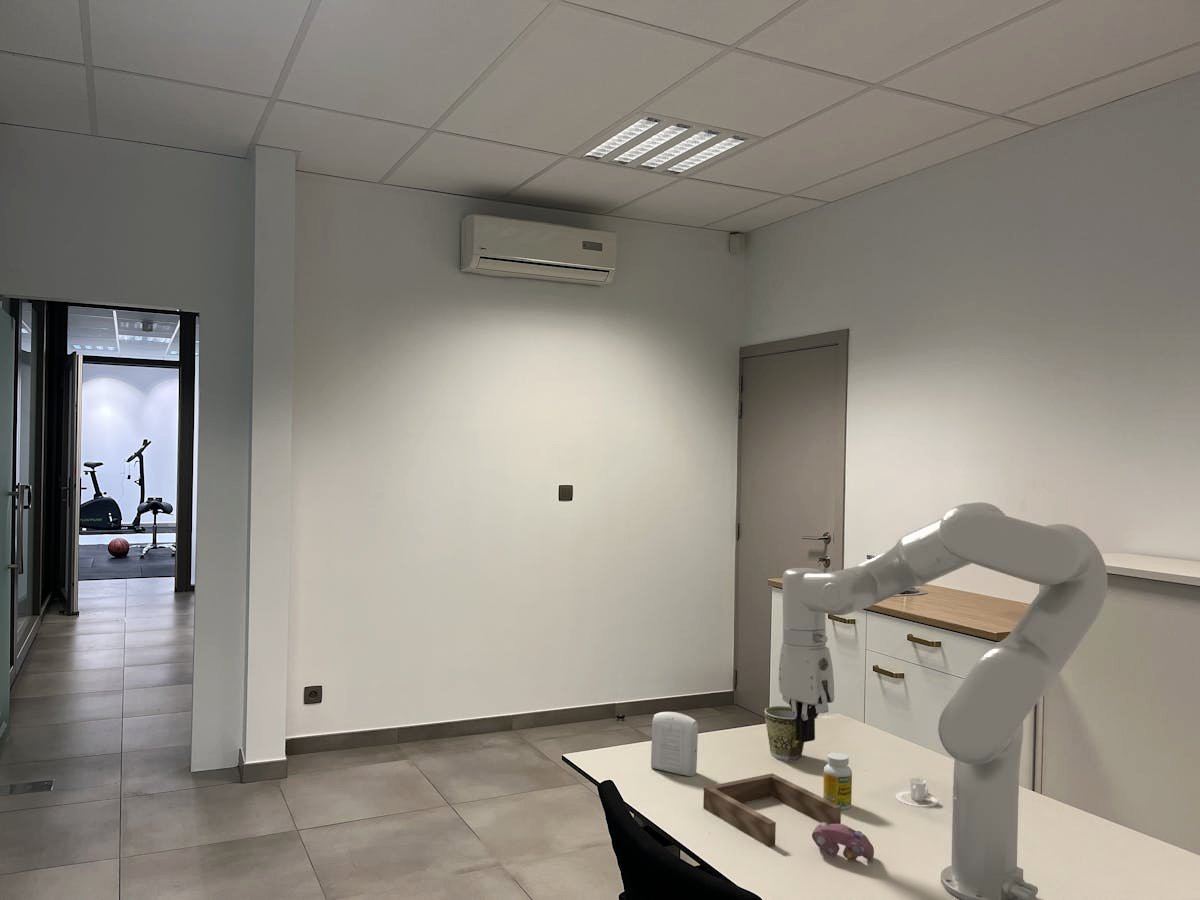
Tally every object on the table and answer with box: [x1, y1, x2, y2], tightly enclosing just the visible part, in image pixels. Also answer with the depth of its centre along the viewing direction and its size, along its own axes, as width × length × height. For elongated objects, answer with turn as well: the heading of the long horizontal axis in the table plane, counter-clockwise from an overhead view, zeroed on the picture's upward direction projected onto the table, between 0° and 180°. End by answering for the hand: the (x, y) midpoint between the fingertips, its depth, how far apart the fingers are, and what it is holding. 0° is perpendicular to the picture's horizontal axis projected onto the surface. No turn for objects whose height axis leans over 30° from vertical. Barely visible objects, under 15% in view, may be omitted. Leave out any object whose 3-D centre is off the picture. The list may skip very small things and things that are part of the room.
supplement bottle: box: [822, 752, 853, 811], centre depth 175 cm, size 5×5×10 cm
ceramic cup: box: [764, 705, 805, 762], centre depth 202 cm, size 13×10×10 cm
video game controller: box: [811, 822, 875, 862], centre depth 153 cm, size 10×5×7 cm, turn 58°
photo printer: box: [650, 711, 699, 777], centre depth 193 cm, size 10×4×12 cm, turn 60°
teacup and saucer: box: [895, 777, 939, 808], centre depth 180 cm, size 9×8×4 cm
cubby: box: [702, 773, 842, 848], centre depth 168 cm, size 19×17×4 cm
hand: (805, 740), depth 161 cm, fingers closed
